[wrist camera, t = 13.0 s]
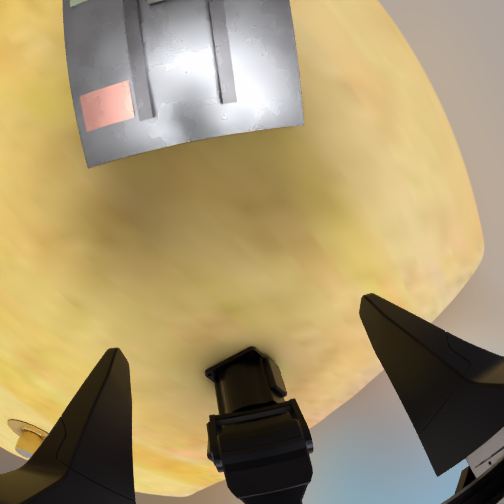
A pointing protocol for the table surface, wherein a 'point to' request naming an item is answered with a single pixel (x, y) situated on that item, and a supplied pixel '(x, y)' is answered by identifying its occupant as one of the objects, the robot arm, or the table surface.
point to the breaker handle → (152, 0)
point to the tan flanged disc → (26, 438)
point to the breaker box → (178, 71)
